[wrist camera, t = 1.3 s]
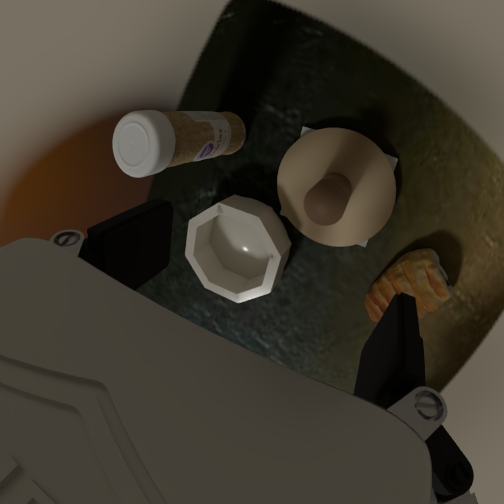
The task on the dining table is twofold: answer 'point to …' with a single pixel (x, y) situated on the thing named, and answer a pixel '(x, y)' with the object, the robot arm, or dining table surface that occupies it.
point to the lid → (336, 186)
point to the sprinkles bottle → (174, 139)
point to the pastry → (411, 284)
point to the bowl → (238, 248)
